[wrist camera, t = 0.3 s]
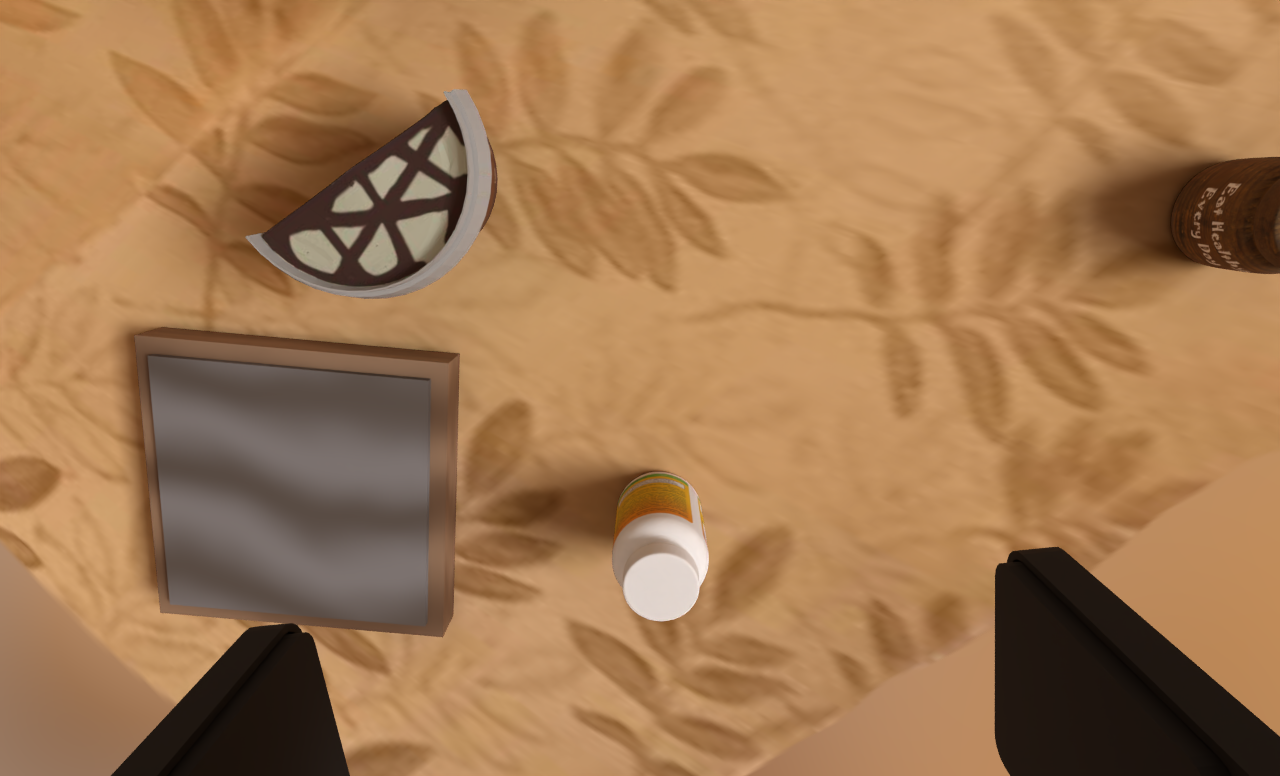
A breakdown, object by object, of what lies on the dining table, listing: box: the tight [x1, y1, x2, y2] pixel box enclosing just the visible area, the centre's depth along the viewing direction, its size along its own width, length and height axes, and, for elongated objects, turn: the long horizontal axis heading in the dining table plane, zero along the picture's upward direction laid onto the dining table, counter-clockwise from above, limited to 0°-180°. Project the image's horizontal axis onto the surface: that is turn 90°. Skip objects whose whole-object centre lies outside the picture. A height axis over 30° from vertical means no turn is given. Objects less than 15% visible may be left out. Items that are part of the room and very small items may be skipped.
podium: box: [134, 327, 460, 637], centre depth 45 cm, size 18×18×3 cm
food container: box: [246, 89, 497, 299], centre depth 38 cm, size 12×6×10 cm, turn 123°
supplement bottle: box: [612, 472, 709, 621], centre depth 42 cm, size 5×5×10 cm
